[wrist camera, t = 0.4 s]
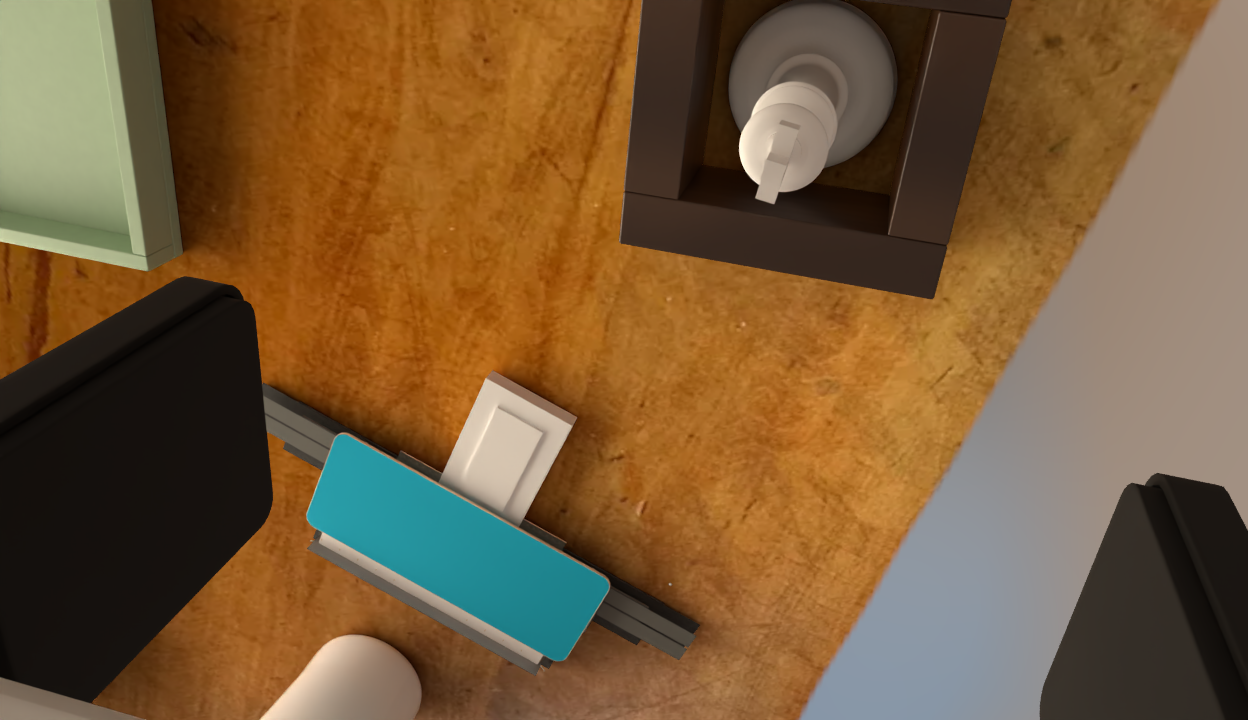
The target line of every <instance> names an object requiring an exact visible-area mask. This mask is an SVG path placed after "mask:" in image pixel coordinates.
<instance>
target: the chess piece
mask: <svg viewBox="0 0 1248 720" xmlns="http://www.w3.org/2000/svg"><path fill="white" fill-rule="evenodd" d="M897 80H898V78H897V66H896V61H895V57H894V53H893V50H892V48H891V45H890V43H889V41H888V39H887V37H886V36H885V34H884V33H883V31H882V30H881V28H880V27H879V26H878V25H877V23H876V22H875V21H874V20H873V19H872V18H870V17H869V16H868V15H867V14H866V13H864V12H863V11H861V10H860V9H858V8H856V7H855V6H853V5H851V4H848V3H846V2H843V1H840V0H792V1H789V2H786V3H784V4H782V5H779V6H777V7H775V8H774V9H772V10H770V11H769V12H767V13H766V14H765V15H763V16H762V17H761V18H760V19H758V20H757V21H756V22H755V23H754V24H753V25H752V26H751V28H750V29H749V30H748V31H747V32H746V34H745V35H744V37H743V38H742V40H741V42H740V43H739V45H738V47H737V49H736V52H735V54H734V57H733V60H732V63H731V68H730V73H729V85H728V93H729V102H730V107H731V111H732V115H733V117H734V120H735V122H736V125H737V127H738V128H739V130H740V132H741V133H742V134H741V137H740V143H739V154H740V159H741V162H742V165H743V167H744V169H745V171H746V172H747V174H748V175H749V176H750V178H751V179H752V180H753V181H755V182H756V183H757V184H759V188H758V191H757V194H756V197H755V198H756V199H759V200H762V201H765V202H768V203H771V204H775V201H776V198H777V195H778V192H789V191H794V190H798V189H801V188H803V187H805V186H807V185H808V184H810V183H811V182H812V181H813V180H814V179H816V177H817V176H818V175H819V174H820V173H821V171H822V169H823V168H826V167H830V166H833V165H837V164H839V163H842V162H844V161H846V160H848V159H850V158H851V157H853V156H855V155H856V154H858V153H859V152H860V151H862V150H863V149H864V148H865V147H866V146H867V145H868V144H869V143H870V142H871V141H872V140H873V139H874V138H875V137H876V136H877V135H878V133H879V132H880V131H881V129H882V128H883V126H884V125H885V123H886V121H887V119H888V117H889V115H890V113H891V111H892V108H893V105H894V101H895V97H896V92H897Z"/></svg>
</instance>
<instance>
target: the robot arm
mask: <svg viewBox="0 0 1248 720" xmlns="http://www.w3.org/2000/svg"><path fill="white" fill-rule="evenodd" d="M272 501H273V490H272V480H271V470H270V460H269V450H268V440H267V430H266V420H265V410H264V399H263V389H262V379H261V369H260V359H259V349H258V339H257V329H256V319H255V313H254V309H253V308H252V306H251V304H250V303H248V302H247V301H244V299H243V296H242V294H241V293H240V291H239V290H238V289H237V288H236V287H234V286H232V285H227V284H222V283H218V282H213V281H208V280H203V279H198V278H193V277H186V276H184V277H181V278H178V279H176V280H174V281H172V282H171V283H169V284H167V285H165V286H164V287H162V288H160V289H158V290H157V291H155V292H153V293H151V294H150V295H148V296H146V297H144V298H143V299H141V300H139V301H137V302H136V303H134V304H132V305H130V306H129V307H127V308H125V309H123V310H121V311H120V312H118V313H116V314H114V315H113V316H111V317H109V318H107V319H106V320H104V321H102V322H100V323H99V324H97V325H95V326H93V327H92V328H90V329H88V330H86V331H85V332H83V333H81V334H79V335H78V336H76V337H74V338H72V339H71V340H69V341H67V342H65V343H64V344H62V345H60V346H58V347H57V348H55V349H53V350H51V351H50V352H48V353H46V354H44V355H43V356H41V357H39V358H37V359H36V360H34V361H32V362H30V363H29V364H27V365H25V366H23V367H22V368H20V369H18V370H16V371H15V372H13V373H11V374H9V375H8V376H6V377H4V378H2V379H1V380H0V720H146V719H142V718H139V717H135V716H132V715H128V714H125V713H121V712H118V711H115V710H111V709H108V708H104V707H101V706H97V705H94V704H90V703H91V702H92V701H93V700H94V699H95V698H96V697H97V696H98V695H99V694H100V693H101V692H102V691H103V690H104V689H105V688H106V687H107V686H108V685H109V684H110V683H111V682H112V681H113V679H114V678H115V677H116V676H117V675H118V674H119V673H120V672H121V671H122V670H123V669H124V668H125V667H126V666H127V665H128V664H129V663H130V662H131V661H132V660H133V659H134V658H135V657H136V656H137V655H138V654H139V653H140V652H141V651H142V650H143V649H144V647H145V646H146V645H147V644H148V643H149V642H150V641H151V640H152V639H153V638H154V637H155V636H156V635H157V634H158V633H159V632H160V631H161V630H162V629H163V628H164V627H165V626H166V625H167V624H168V623H169V622H170V621H171V620H172V619H173V618H174V617H175V615H176V614H177V613H178V612H179V611H180V610H181V609H182V608H183V607H184V606H185V605H186V604H187V603H188V602H189V601H190V600H191V599H192V598H193V597H194V596H195V595H196V594H197V593H198V592H199V591H200V590H201V589H202V588H203V587H204V586H205V585H206V584H207V582H208V581H209V580H210V579H211V578H212V577H213V576H214V575H215V574H216V573H217V572H218V571H219V570H220V569H221V568H222V567H223V566H224V565H225V564H226V563H227V562H228V561H229V560H230V559H231V558H232V557H233V556H234V555H235V554H236V553H237V552H238V550H239V549H240V548H241V547H242V546H243V545H244V544H245V543H246V542H247V541H248V540H249V539H250V538H251V537H252V536H253V535H254V534H255V533H256V532H257V531H258V530H259V529H260V528H261V527H262V525H263V524H264V523H265V521H266V519H267V517H268V515H269V513H270V510H271V507H272ZM1040 720H1248V530H1247V529H1246V526H1245V524H1244V522H1243V520H1242V519H1241V517H1240V515H1239V513H1238V511H1237V509H1236V507H1235V505H1234V503H1233V501H1232V499H1231V497H1230V495H1229V494H1228V492H1227V491H1226V490H1225V488H1224V487H1222V486H1219V485H1215V484H1210V483H1205V482H1200V481H1194V480H1189V479H1185V478H1180V477H1175V476H1170V475H1165V474H1160V473H1156V474H1154V475H1153V476H1151V477H1150V479H1149V480H1148V481H1147V482H1146V484H1145V486H1144V485H1139V484H1135V483H1131V484H1129V485H1127V487H1126V488H1125V489H1124V491H1123V493H1122V495H1121V497H1120V499H1119V502H1118V504H1117V507H1116V509H1115V512H1114V514H1113V516H1112V519H1111V521H1110V524H1109V526H1108V528H1107V531H1106V533H1105V536H1104V538H1103V541H1102V543H1101V546H1100V548H1099V551H1098V553H1097V555H1096V558H1095V561H1094V563H1093V565H1092V568H1091V570H1090V573H1089V575H1088V577H1087V580H1086V582H1085V585H1084V587H1083V590H1082V592H1081V595H1080V597H1079V599H1078V602H1077V604H1076V607H1075V609H1074V612H1073V614H1072V617H1071V619H1070V622H1069V624H1068V626H1067V629H1066V632H1065V634H1064V636H1063V639H1062V641H1061V644H1060V646H1059V649H1058V651H1057V653H1056V656H1055V658H1054V661H1053V663H1052V666H1051V668H1050V671H1049V673H1048V675H1047V678H1046V680H1045V683H1044V686H1043V690H1042V695H1041V702H1040Z"/></svg>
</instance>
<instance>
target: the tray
mask: <svg viewBox="0 0 1248 720" xmlns="http://www.w3.org/2000/svg"><path fill="white" fill-rule="evenodd" d="M0 241H2V242H7V243H11V244H16V245H21V246H26V247H31V248H36V249H41V250H46V251H51V252H56V253H61V254H65V255H70V256H75V257H80V258H85V259H90V260H95V261H100V262H105V263H110V264H115V265H120V266H124V267H129V268H134V269H139V270H144V271H150V270H152V269H154V268H156V267H158V266H160V265H162V264H164V263H166V262H168V261H170V260H172V259H174V258H175V257H178V256H180V255H181V254H183V249H182V241H181V233H180V225H179V217H178V209H177V201H176V192H175V184H174V176H173V168H172V160H171V152H170V144H169V136H168V128H167V120H166V112H165V104H164V96H163V88H162V80H161V72H160V64H159V56H158V48H157V40H156V32H155V24H154V16H153V8H152V0H0Z"/></svg>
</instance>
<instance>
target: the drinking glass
mask: <svg viewBox="0 0 1248 720" xmlns="http://www.w3.org/2000/svg"><path fill="white" fill-rule="evenodd" d="M421 699H422V689H421V684H420V680H419V678H418V675H417V673H416V671H415V669H414V668H413V666H412V665H411V664H410V662H409V661H408V660H407V659H406V658H405V657H404V656H403V655H402V654H401V653H400V652H399V651H397V650H396V649H395V648H393V647H392V646H390V645H389V644H387V643H385V642H383V641H381V640H378V639H376V638H373V637H369V636H365V635H344V636H340V637H337V638H334V639H332V640H331V641H329V642H327V643H326V644H325V645H324V646H322V647H321V648H320V649H319V651H318V652H317V653H316V654H315V656H314V657H313V658H312V660H311V661H310V662H309V664H308V665H307V666H306V667H305V669H304V670H303V671H302V673H301V674H300V675H299V676H298V677H297V679H296V680H295V681H294V682H293V683H292V684H291V685H290V686H289V688H288V689H287V690H286V691H285V692H284V693H283V694H282V695H281V696H280V698H279V699H278V700H277V701H276V702H275V703H274V704H273V705H272V706H271V707H270V709H269V710H268V711H267V712H266V713H265V714H264V715H263V716H262V717H261V718H260V720H414V718H415V717H416V715H417V713H418V710H419V708H420V705H421Z"/></svg>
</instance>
